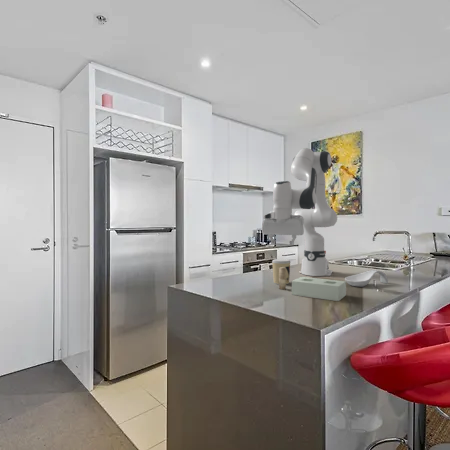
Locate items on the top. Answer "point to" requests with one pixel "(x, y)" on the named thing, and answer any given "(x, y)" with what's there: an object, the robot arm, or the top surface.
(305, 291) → the hole block
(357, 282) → the spoon rest
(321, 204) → the robot arm
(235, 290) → the top surface
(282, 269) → the peg
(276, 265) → the coffee cup
